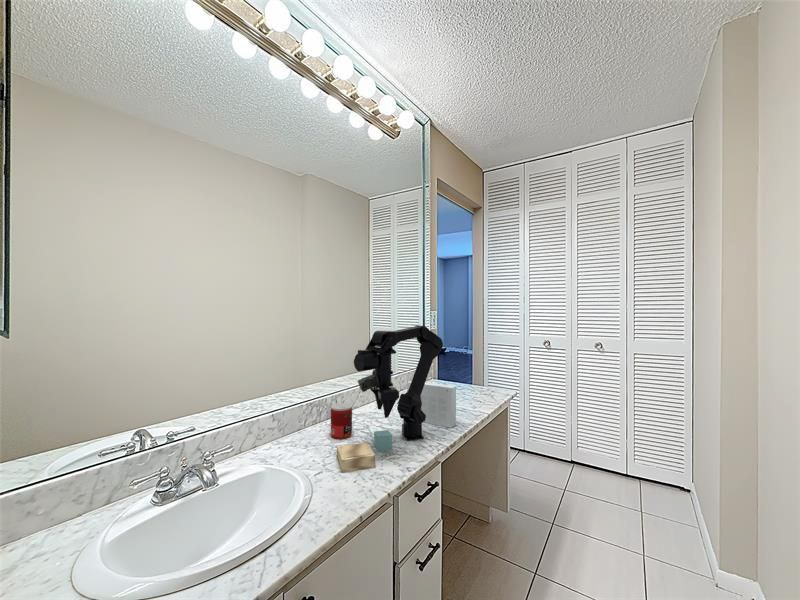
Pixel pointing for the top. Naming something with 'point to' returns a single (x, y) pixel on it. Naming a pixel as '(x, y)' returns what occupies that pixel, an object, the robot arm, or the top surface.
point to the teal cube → (382, 440)
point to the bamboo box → (355, 457)
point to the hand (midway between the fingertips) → (382, 413)
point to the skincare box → (438, 404)
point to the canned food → (341, 421)
